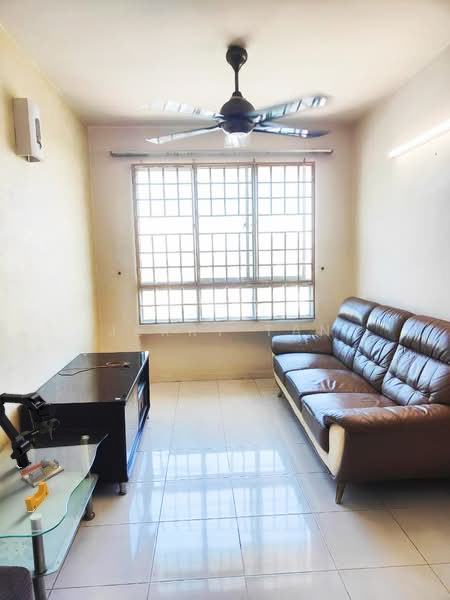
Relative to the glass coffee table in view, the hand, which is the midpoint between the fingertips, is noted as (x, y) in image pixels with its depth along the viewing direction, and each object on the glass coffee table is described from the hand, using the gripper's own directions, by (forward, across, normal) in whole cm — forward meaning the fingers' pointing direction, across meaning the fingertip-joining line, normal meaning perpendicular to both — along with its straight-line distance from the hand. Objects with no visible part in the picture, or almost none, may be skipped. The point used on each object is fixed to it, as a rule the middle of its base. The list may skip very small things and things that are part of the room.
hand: (43, 443), depth 203 cm
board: (+12, -6, -6) cm, 15 cm away
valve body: (+12, -6, -9) cm, 16 cm away
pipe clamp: (+12, -18, -29) cm, 36 cm away
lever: (+7, -9, -8) cm, 14 cm away
